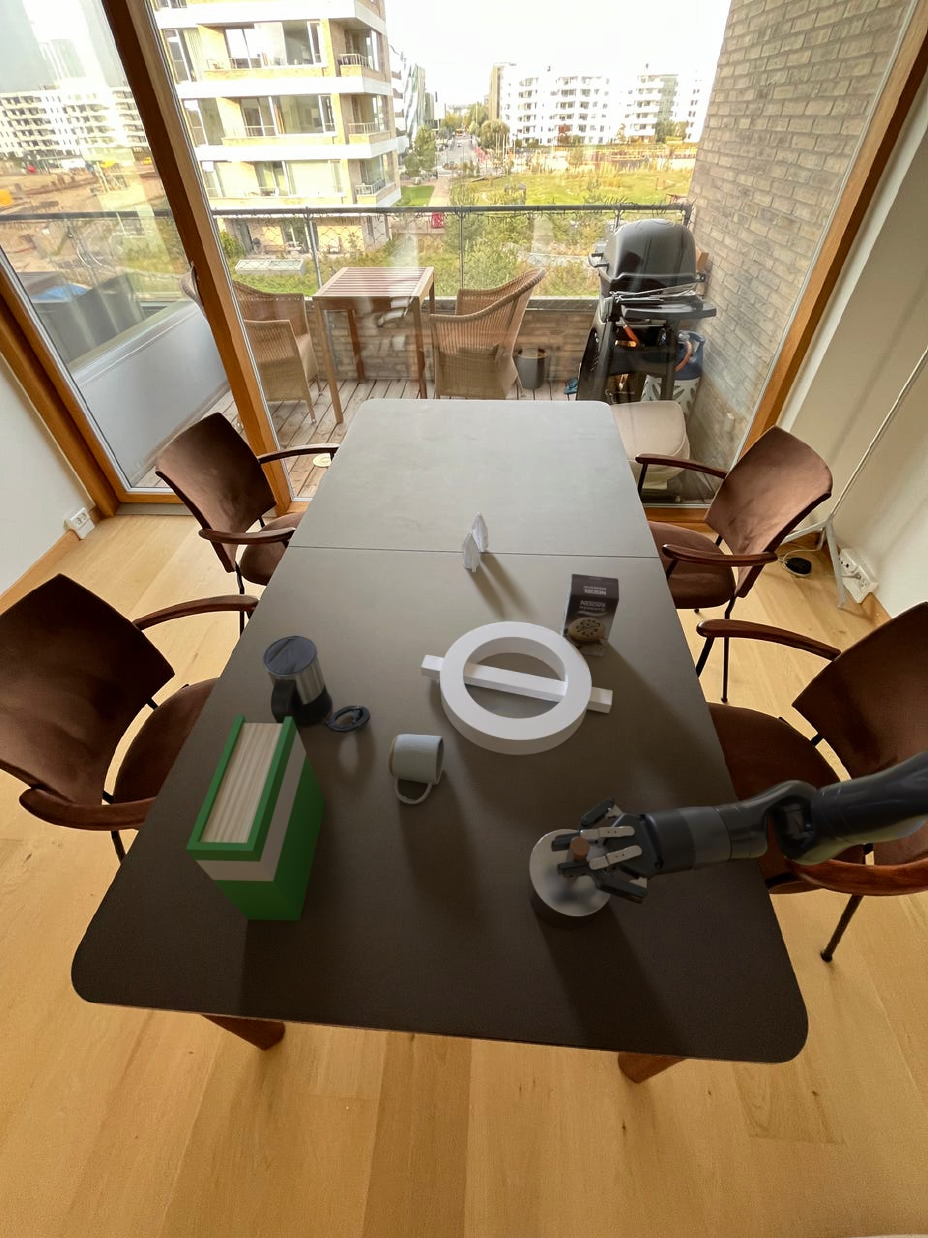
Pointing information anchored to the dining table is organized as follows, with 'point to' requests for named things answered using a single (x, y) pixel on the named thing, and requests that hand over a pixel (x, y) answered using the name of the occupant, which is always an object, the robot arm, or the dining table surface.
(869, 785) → the robot arm
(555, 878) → the bowl lid
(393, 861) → the dining table surface
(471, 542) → the shaker set
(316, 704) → the milk frother
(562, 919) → the bowl
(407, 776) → the ceramic mug
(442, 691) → the ring with crossbar
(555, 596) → the dining table surface
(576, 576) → the coffee box
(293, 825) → the hardback book
